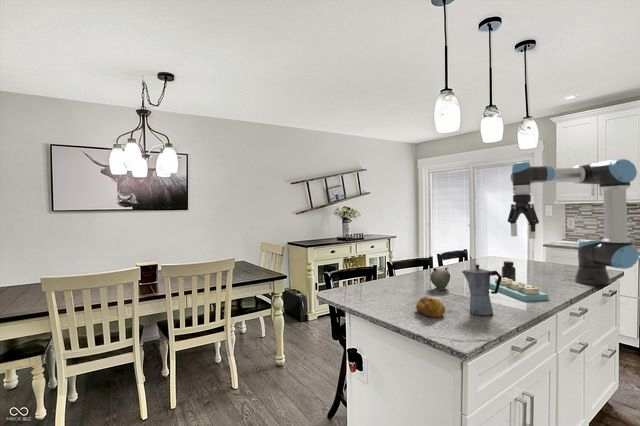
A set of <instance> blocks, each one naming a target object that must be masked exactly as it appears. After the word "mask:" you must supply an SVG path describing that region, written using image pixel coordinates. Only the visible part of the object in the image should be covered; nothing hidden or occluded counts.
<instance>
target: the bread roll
mask: <svg viewBox="0 0 640 426" xmlns="http://www.w3.org/2000/svg"><path fill="white" fill-rule="evenodd" d="M415 308H416V310H417V312H419V313H420V314H422V315H423V316H425V317H429V318H439V317H442V316H444V315H445V313H446V307H445V305H444V303H443V302H442V301H441V300H440V299H438V298H432V297H429V296H423V297H420V298H419V299H418V301H417V303H416V304H415Z"/></svg>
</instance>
